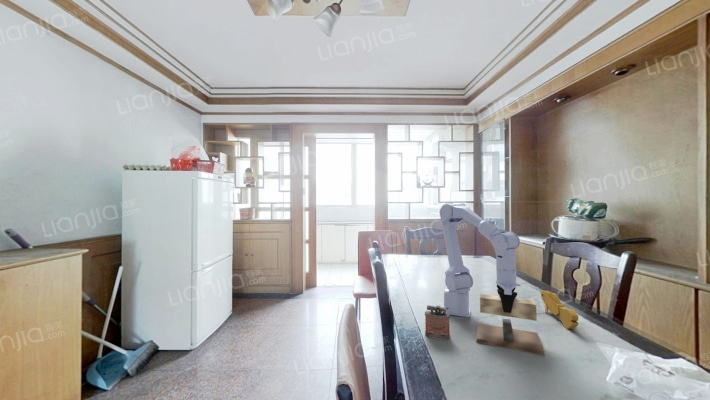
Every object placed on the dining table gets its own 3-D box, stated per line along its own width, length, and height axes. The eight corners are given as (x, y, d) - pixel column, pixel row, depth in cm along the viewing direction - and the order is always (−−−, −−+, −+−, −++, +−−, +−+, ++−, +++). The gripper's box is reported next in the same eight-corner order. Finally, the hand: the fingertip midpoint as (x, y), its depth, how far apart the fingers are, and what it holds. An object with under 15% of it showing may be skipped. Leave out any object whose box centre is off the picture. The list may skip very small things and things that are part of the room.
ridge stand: (476, 342, 87) (476, 326, 87) (477, 326, 98) (477, 312, 98) (544, 355, 79) (543, 338, 79) (537, 336, 90) (537, 321, 90)
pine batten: (480, 312, 92) (480, 297, 92) (480, 308, 96) (480, 293, 96) (536, 320, 85) (536, 304, 85) (534, 315, 89) (534, 300, 89)
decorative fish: (538, 303, 115) (540, 282, 113) (546, 304, 114) (549, 282, 112) (567, 341, 94) (570, 316, 91) (577, 342, 93) (581, 316, 91)
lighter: (450, 335, 92) (449, 305, 92) (450, 340, 89) (449, 309, 89) (425, 331, 95) (425, 303, 95) (424, 336, 91) (424, 306, 91)
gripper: (522, 275, 82) (523, 320, 82) (517, 264, 95) (518, 303, 95) (496, 273, 85) (497, 316, 85) (495, 263, 98) (495, 300, 98)
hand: (506, 309), depth 90 cm, fingers closed on pine batten, 4 cm apart
